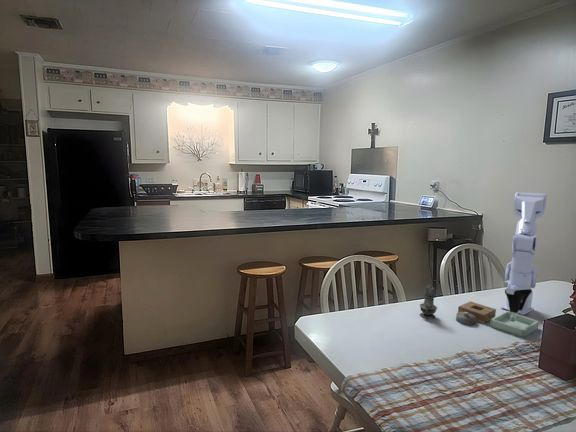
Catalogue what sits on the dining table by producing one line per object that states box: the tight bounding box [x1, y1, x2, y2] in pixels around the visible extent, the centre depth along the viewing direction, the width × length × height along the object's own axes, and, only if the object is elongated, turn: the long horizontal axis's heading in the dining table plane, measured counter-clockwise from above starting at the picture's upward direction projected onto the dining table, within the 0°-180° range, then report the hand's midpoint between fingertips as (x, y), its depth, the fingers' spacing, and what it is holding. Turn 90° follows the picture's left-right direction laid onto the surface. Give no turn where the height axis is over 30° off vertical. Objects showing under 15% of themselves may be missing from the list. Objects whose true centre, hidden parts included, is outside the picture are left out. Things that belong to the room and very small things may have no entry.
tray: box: [489, 310, 540, 339], centre depth 124 cm, size 12×10×2 cm
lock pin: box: [507, 299, 523, 322], centre depth 124 cm, size 3×3×8 cm
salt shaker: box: [419, 283, 438, 320], centre depth 131 cm, size 6×6×12 cm
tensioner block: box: [455, 300, 497, 326], centre depth 131 cm, size 15×9×3 cm, turn 128°
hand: (515, 310), depth 124 cm, fingers closed on lock pin, 3 cm apart
